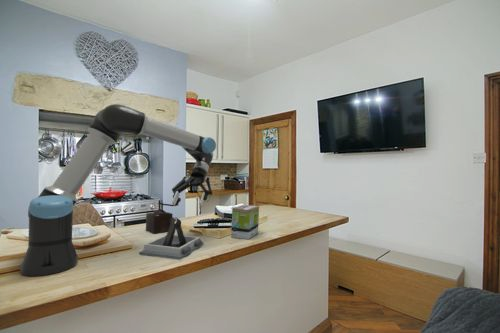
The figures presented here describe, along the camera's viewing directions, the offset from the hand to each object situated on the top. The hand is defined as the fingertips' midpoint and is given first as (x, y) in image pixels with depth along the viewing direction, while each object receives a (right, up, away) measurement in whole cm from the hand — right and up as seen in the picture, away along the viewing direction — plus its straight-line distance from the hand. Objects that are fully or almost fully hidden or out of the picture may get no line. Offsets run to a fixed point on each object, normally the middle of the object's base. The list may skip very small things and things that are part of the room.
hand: (186, 204), depth 119 cm
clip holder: (-3, -17, -11) cm, 21 cm away
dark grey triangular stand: (-2, -16, -12) cm, 20 cm away
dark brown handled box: (-18, -17, +21) cm, 32 cm away
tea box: (+27, -18, +14) cm, 35 cm away
